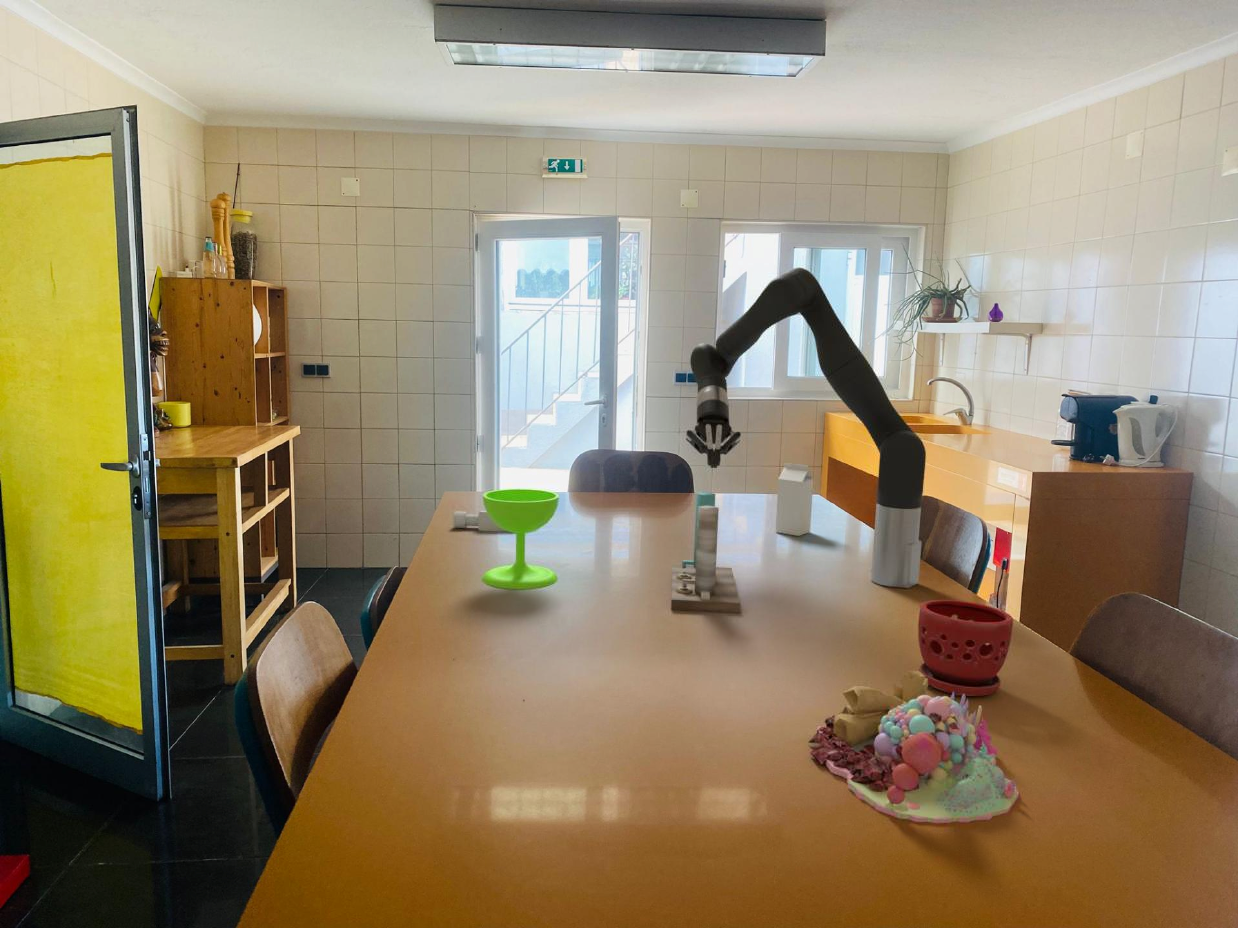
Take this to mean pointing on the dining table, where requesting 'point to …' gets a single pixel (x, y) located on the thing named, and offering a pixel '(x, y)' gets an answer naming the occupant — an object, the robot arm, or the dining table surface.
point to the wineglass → (520, 534)
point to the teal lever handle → (701, 500)
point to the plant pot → (963, 646)
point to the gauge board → (715, 601)
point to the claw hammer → (475, 521)
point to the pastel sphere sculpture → (915, 754)
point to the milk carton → (794, 500)
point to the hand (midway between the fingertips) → (713, 465)
